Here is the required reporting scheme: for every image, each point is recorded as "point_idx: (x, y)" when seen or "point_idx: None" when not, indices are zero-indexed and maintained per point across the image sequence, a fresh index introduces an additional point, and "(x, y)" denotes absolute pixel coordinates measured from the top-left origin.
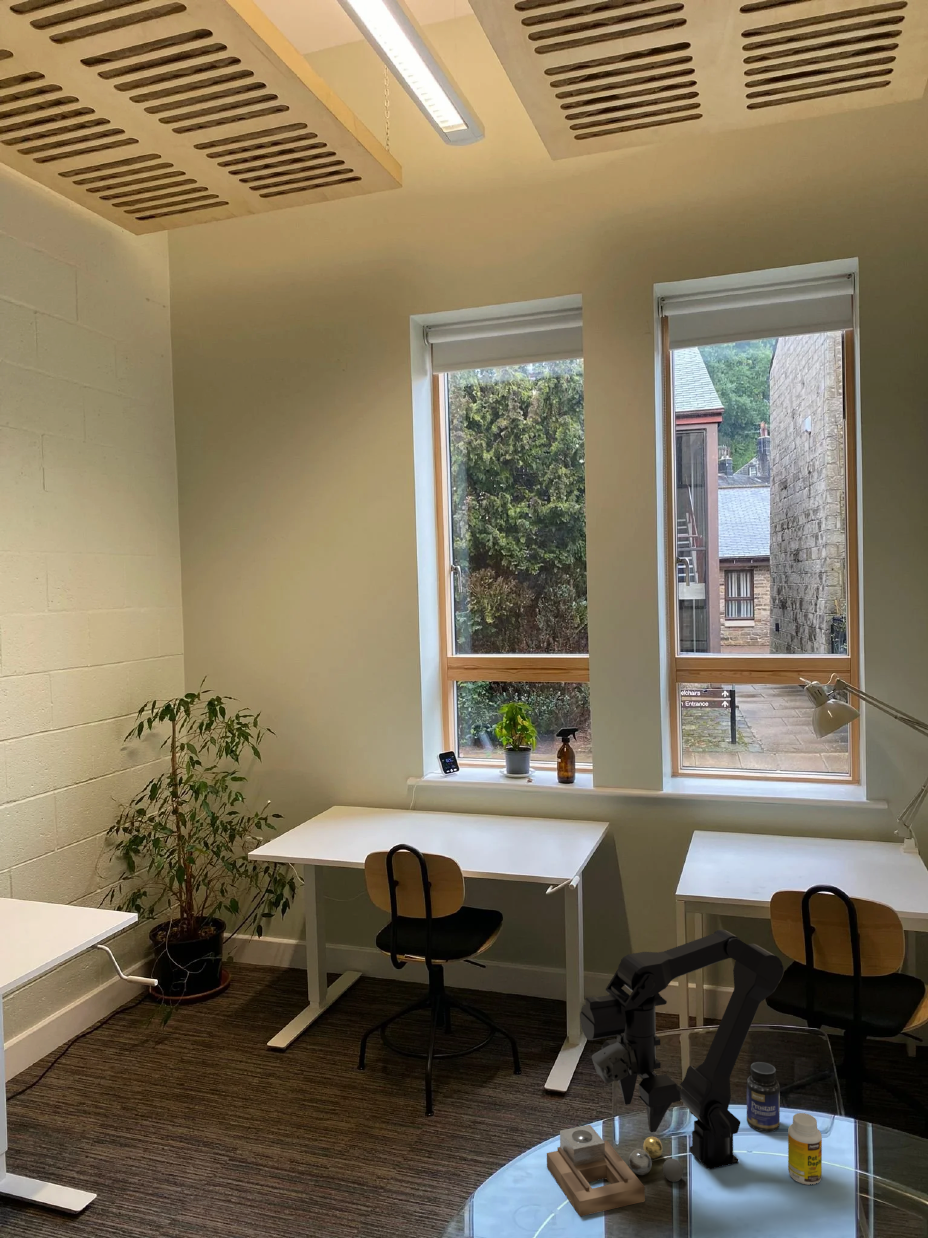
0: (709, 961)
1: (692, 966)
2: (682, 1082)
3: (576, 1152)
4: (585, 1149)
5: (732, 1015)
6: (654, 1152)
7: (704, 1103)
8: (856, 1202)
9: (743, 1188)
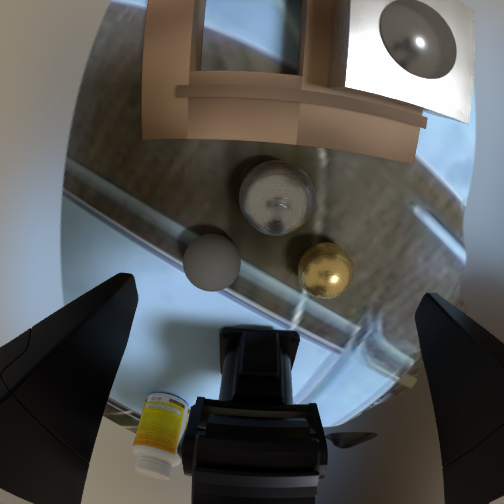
0: None
1: None
2: (314, 483)
3: None
4: (347, 2)
5: None
6: (301, 262)
7: (192, 470)
8: (117, 402)
9: (156, 341)
